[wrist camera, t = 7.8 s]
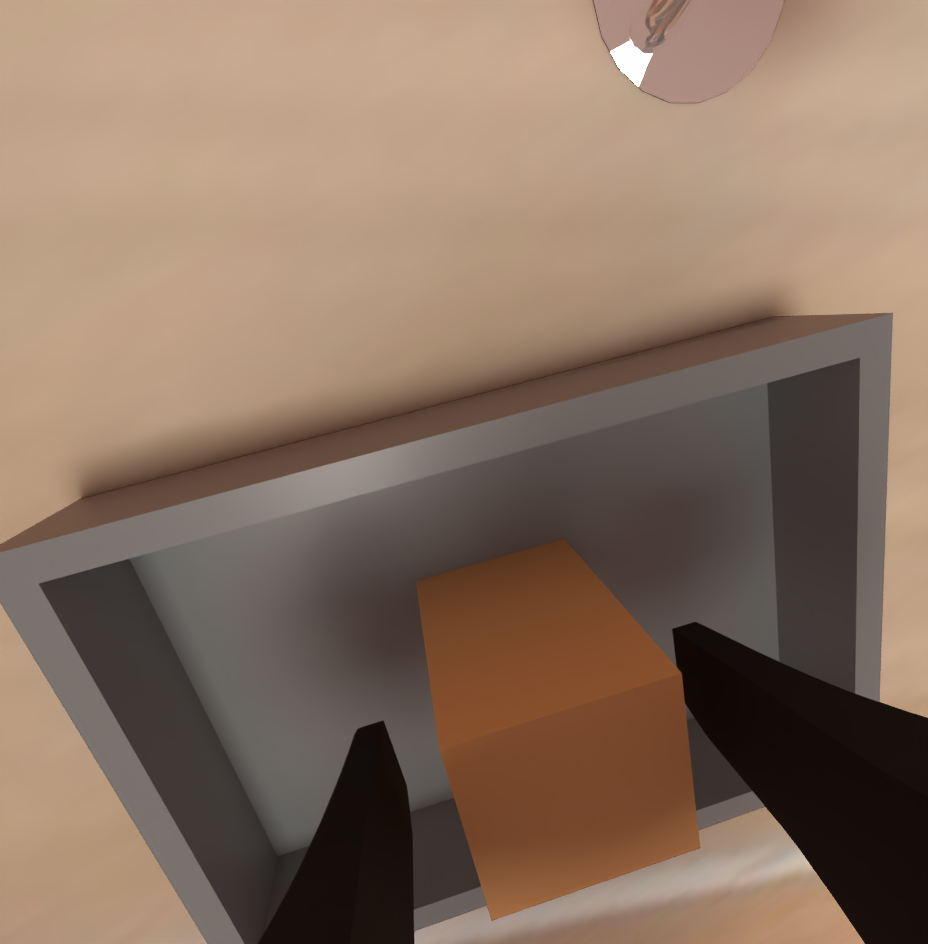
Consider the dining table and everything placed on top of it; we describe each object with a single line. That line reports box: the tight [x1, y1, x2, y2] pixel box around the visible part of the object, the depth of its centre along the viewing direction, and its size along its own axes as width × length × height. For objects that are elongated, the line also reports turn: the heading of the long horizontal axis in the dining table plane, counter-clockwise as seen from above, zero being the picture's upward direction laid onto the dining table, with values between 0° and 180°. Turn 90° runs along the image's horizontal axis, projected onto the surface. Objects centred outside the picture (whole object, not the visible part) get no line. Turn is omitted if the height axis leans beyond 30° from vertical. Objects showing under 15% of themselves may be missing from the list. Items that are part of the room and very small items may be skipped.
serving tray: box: [0, 313, 893, 944], centre depth 14 cm, size 14×20×4 cm
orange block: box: [416, 539, 700, 920], centre depth 12 cm, size 4×4×6 cm
